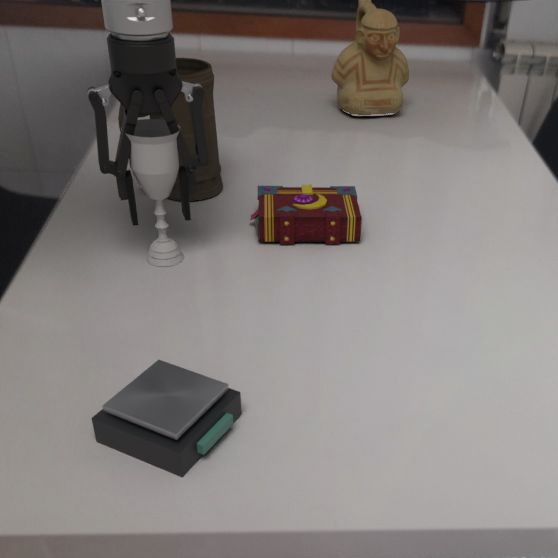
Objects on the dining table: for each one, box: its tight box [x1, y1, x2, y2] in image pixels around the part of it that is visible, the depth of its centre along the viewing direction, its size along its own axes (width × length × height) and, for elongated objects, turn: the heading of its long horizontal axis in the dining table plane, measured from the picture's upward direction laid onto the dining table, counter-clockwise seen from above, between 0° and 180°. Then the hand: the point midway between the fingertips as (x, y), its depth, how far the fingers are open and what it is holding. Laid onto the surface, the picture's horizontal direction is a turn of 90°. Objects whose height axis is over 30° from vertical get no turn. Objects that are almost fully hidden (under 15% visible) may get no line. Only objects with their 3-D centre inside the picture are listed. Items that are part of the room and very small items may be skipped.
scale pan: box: [101, 359, 230, 440], centre depth 69 cm, size 8×8×1 cm
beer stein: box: [118, 57, 224, 202], centre depth 112 cm, size 15×11×20 cm
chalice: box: [121, 118, 185, 267], centre depth 94 cm, size 7×7×18 cm
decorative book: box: [250, 184, 363, 245], centre depth 107 cm, size 11×16×5 cm
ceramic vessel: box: [330, 0, 410, 115], centre depth 151 cm, size 17×20×25 cm
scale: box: [91, 387, 243, 478], centre depth 70 cm, size 11×10×3 cm
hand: (160, 218), depth 96 cm, fingers closed on chalice, 6 cm apart
